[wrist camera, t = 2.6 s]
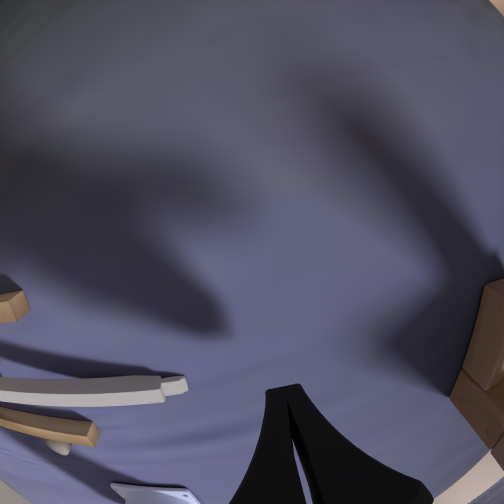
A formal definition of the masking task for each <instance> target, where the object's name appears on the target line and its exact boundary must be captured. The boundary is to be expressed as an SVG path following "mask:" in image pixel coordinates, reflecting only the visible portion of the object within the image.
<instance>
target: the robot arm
mask: <svg viewBox="0 0 504 504" xmlns="http://www.w3.org/2000/svg"><path fill="white" fill-rule="evenodd" d="M265 394H266V404H265V412H264V419H263V424H262V428H261V433H260V436H259V440H258V443H257V446H256V450H255V452H254V455H253V458H252V460H251V463H250V465H249V468H248V470H247V472H246V474H245V476H244V478H243V480H242V482H241V484H240V486H239V488H238V490H237V492H236V493H235V495H234V496H233V498H232V500H231V501H230V503H229V504H306V500H305V497H304V493H303V489H302V485H301V481H300V477H299V473H298V469H297V465H296V461H295V457H294V450H293V442H294V445H295V448H296V451H297V454H298V456H299V459H300V462H301V465H302V468H303V470H304V473H305V476H306V479H307V482H308V486H309V490H310V494H311V498H312V502H313V504H432V503H433V501H434V499H433V497H432V495H431V493H430V492H429V490H428V489H427V488H426V487H425V485H424V484H423V483H422V482H421V481H419V480H417V479H414V478H411V477H409V476H406V475H404V474H402V473H400V472H397V471H395V470H393V469H391V468H389V467H387V466H385V465H384V464H382V463H380V462H379V461H377V460H375V459H374V458H372V457H370V456H369V455H367V454H366V453H364V452H363V451H362V450H360V449H359V448H357V447H356V446H355V445H354V444H352V443H351V442H350V441H349V440H347V439H346V438H345V437H344V436H343V435H342V434H341V433H339V432H338V431H337V430H336V429H335V428H334V427H333V426H332V425H331V424H330V423H329V422H328V421H327V419H326V418H325V417H324V416H323V415H322V414H321V413H320V412H319V410H318V409H317V408H316V407H315V405H314V404H313V403H312V401H311V400H310V399H309V397H308V396H307V394H306V393H305V391H304V390H303V388H302V386H301V385H300V384H293V385H288V386H283V387H278V388H273V389H268V390H267V391H266V392H265ZM292 439H293V441H292ZM110 487H111V488H112V489H113V490H115V491H116V492H117V493H118V494H119V495H120V496H121V497H123V498H124V499H125V500H126V501H125V504H201V503H200V502H199V501H198V500H197V499H196V498H195V497H194V496H193V494H192V493H191V492H190V491H189V490H188V489H185V488H160V487H145V486H134V485H125V484H118V483H111V485H110ZM468 504H504V477H503V478H502V479H500V480H499V481H498V482H497V483H495V484H494V485H493V486H492V487H490V488H489V489H488V490H486V491H485V492H484V493H482V494H481V495H480V496H478V497H477V498H476V499H474V500H473V501H471V502H470V503H468Z"/></svg>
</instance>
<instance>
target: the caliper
mask: <svg viewBox="0 0 504 504" xmlns="http://www.w3.org/2000/svg"><path fill="white" fill-rule="evenodd" d="M186 391H188V386H187V383H186V379H185V376H174V377H167V378H161V376H141V375H132V376H120V377H106V378H87V379H25V378H8V377H2V375H1V373H0V401H3V402H11V403H20V404H31V405H44V406H68V407H100V406H123V405H138V404H150V403H160V402H165V396H168V395H177V394H183V393H184V392H186Z"/></svg>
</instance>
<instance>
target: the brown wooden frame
mask: <svg viewBox="0 0 504 504" xmlns="http://www.w3.org/2000/svg"><path fill="white" fill-rule="evenodd" d="M450 400H451V402H452V403H453V404H454V405H455V407H456V408H457V409H458V410H459V411H460V413H461V414H462V415H463V416H464V418H465V419H466V420H467V421H468V423H469V424H470V425H471V426H472V428H473V429H474V430H475V432H476V433H477V434H478V435H479V437H480V438H481V439H482V441H483V442H484V443H485V445H486V446H487V447H488V448H489V449H492V450H491V454H492V455H493V457H494V458H495V459H496V461H497V462H498V464H499V465H500V466H501V468H502V469H503V471H504V278H503V279H500V280H497V281H494V282H491V283H488V284H486V285H485V286H484V288H483V293H482V298H481V302H480V307H479V311H478V315H477V319H476V323H475V327H474V330H473V334H472V337H471V340H470V344H469V347H468V350H467V353H466V356H465V359H464V362H463V365H462V369H461V370H460V372H459V374H458V377H457V380H456V382H455V385H454V387H453V390H452V392H451V394H450Z"/></svg>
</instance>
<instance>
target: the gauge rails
mask: <svg viewBox="0 0 504 504" xmlns="http://www.w3.org/2000/svg"><path fill="white" fill-rule="evenodd" d="M29 310H30V307H29V305H28V302H27V300H26V297H25V295H24V292H23V290H21V291H16V292H11V293H6V294H1V295H0V323H8V322H17V321H18V320H19V319H20V318H21V317H23V316H24V315H25V314H26V313H27V312H28V311H29ZM0 426H2V427H5V428H8V429H12V430H15V431H18V432H22V433H26V434H29V435H33V436H37V437H41V438H46V440H45V442H46V444H47V445H48V446H49V447H50V448H51V449H52V450H54V451H55V452H57V453H59V454H61V455H68V453H69V451H70V448H71V446H72V445H71V444H77V445H84V446H91V447H95V446H96V443H97V440H98V438H99V435H100V431H99V430H98V428H97V427H96V426H95V424H94V423H93V422H89V421H78V420H69V419H62V418H54V417H48V416H42V415H36V414H31V413H26V412H21V411H16V410H12V409H7V408H3V407H0Z"/></svg>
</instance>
